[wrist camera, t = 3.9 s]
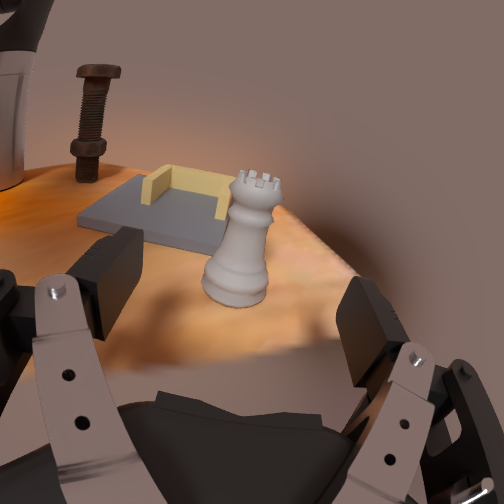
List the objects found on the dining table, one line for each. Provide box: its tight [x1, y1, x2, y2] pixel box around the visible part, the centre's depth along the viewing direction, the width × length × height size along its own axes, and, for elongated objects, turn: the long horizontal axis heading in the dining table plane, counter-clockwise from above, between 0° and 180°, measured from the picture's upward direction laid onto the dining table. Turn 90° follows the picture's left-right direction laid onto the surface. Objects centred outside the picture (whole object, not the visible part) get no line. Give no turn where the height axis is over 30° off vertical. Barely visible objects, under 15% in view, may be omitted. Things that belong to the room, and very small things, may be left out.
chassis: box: [77, 164, 236, 256], centre depth 28 cm, size 13×15×4 cm
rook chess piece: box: [201, 169, 284, 309], centre depth 18 cm, size 4×4×8 cm
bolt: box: [70, 64, 121, 183], centre depth 29 cm, size 6×5×15 cm
